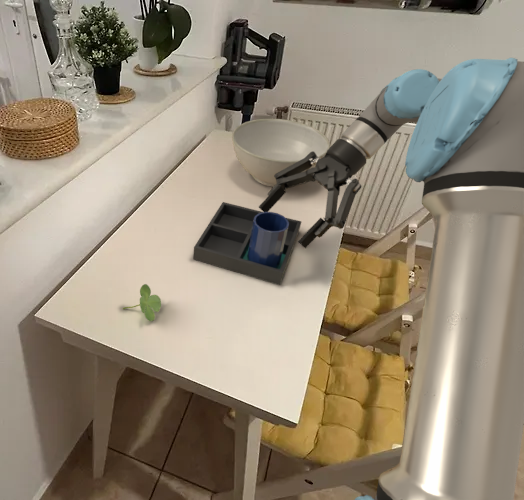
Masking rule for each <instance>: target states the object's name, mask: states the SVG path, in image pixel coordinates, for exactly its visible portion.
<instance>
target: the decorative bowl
mask: <svg viewBox="0 0 524 500" xmlns="http://www.w3.org/2000/svg"><path fill="white" fill-rule="evenodd" d="M231 142H232V147H233V151H234V154H235V155H236V159H237V160H238V162H239V163H240V165H241V166H242V168H243V169H244V170H245V172H247V173H248V174H249V175H251V176H252V178H253V179H254V180H255V181H256V183H259V184H261V185H263V186H266V187H272V188H273V187H274V186H275V185H276V184H277V181H276V178H275V177H274V175H275V174H276V173H278V172H280V171H281V170H283V169H285V168H287V167H289V166H291V165H293V164H294V163H296V162H298V161H300V160H302V159H304V158H305V157H306V156H307V155H308V154H309V153H310V152H312V151H313V152H315V154H316V155H317V156H318V157H319V158H320V159H321V158H323V157H324V156H325V155H326V152H327V150H328V149H329V148H330V147H331V143H330V140H329V138H328V137H327V136H326V135H325V134H324V132H321V131H320V130H318V129H316V128H315V127H313V126H311V125H308V124H306V123H302V122H298V121H294V120H289V119H281V118H259V119H253V120H248V121H245V122H242V123H241V124H239V125H238V126H236V127H235V128H234V129H233V131H232V133H231ZM313 167H316V165H315V166H314V165H313V166H312V167H310V168H313ZM310 168H309V169H310ZM305 171H306V170H305ZM305 171H303V172H305ZM301 173H302V172H301Z"/></svg>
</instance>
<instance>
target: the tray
mask: <svg viewBox="0 0 524 500" xmlns="http://www.w3.org/2000/svg"><path fill="white" fill-rule="evenodd" d="M262 212H263V211H262V210H261V211H260V210H257V209H253V208H249V207H244V206H241V205H237V204H233V203H229V202H226V201H225V202H224V201H222V202H221V204H220V205H219V207H218V209H217V210H216V212H215V213H214V215H213V216H212V218H211V219H210V221H209V223H208V224H207V226H206V227H205V229H204V231H203V232H202V234H201V235H200V237H199V238H198V240H197V242H196V243H195V245H193V257H192V259H193V260H194V261H198V262H202V263H204V264H208V265H211V266H214V267H218V268H222V269H224V270H228V271H231V272H234V273H237V274H240V275H245V276H247V277H251V278H255V279H258V280H262V281H265V282H268V283H270V284H271V283H272V284H275V285H278V286H281V284H282V281H283V279H284V275H285V272H286V269H287V267H288V264H289V261H290V259H291V256H292V252H293V250H294V247H295V245H296V241H297V240H298V239H297V238H298V236H299V233H300V229H301V225H302V220H301V221H300V220H297V219H293V218H288V217H285V218H286V219H287V220H288V222H289V226H288V231H287V235H286V239H285V243H284V248H283V252H282V256H281V260H280V264H279V267H278V268H277V269H276V268H273V267H269V266H266V265H262V264H259V263H255V262H252V261H248V260H247V256H248V250H249V244H250V238H251V232H252V226H253V220H254V217H255V216H256V215H257V214H259V213H262Z"/></svg>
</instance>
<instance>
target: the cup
mask: <svg viewBox="0 0 524 500" xmlns="http://www.w3.org/2000/svg"><path fill="white" fill-rule="evenodd" d="M261 212H262V213H259V214H257V215H256V216H255V217H254V220H253V226H252V232H251V238H250V244H249V250H248V256H247V260H248V261H252V262H255V263H259V264H262V265H266V266H269V267H273V268H276V269H277V268H278V267H279V264H280V260H281V256H282V252H283V248H284V243H285V239H286V235H287V231H288V226H289V222H288V220H287V219H286V218H287V217H285V216H284V215H282V214H280V213H278V212H274V211H268V212H263V211H261Z"/></svg>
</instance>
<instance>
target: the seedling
mask: <svg viewBox="0 0 524 500" xmlns="http://www.w3.org/2000/svg"><path fill="white" fill-rule="evenodd" d="M151 293H152V291H151V288H150V286H149V285H148V284H147V283H145V284H142V286H141V287H140V289H139V295H140V296H141V297H140V298H139V304H136V305H132V306H126V307H122V309H123V310H125V309H133V308H136V307H140V310H141V313H142V314H144V317H145V319H146V320H147V321H148V322H153V321H155V319H156V315H155V312H156V313H158V312H160V309H161V307H162V301H161V298H160V296H159V295H158V294H151Z"/></svg>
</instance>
